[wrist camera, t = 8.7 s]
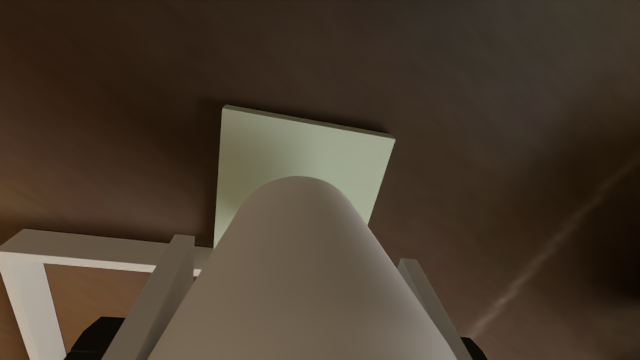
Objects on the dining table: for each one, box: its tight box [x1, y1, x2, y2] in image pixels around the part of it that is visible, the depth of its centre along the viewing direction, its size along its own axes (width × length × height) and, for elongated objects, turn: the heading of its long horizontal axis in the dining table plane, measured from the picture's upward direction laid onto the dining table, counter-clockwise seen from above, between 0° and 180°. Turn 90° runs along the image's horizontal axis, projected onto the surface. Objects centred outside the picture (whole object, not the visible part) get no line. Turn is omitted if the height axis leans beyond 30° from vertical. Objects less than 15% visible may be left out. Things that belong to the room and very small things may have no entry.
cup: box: [147, 176, 457, 360], centre depth 11 cm, size 9×9×12 cm
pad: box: [213, 105, 395, 250], centre depth 19 cm, size 10×10×1 cm
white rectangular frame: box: [0, 229, 214, 360], centre depth 24 cm, size 21×14×2 cm
